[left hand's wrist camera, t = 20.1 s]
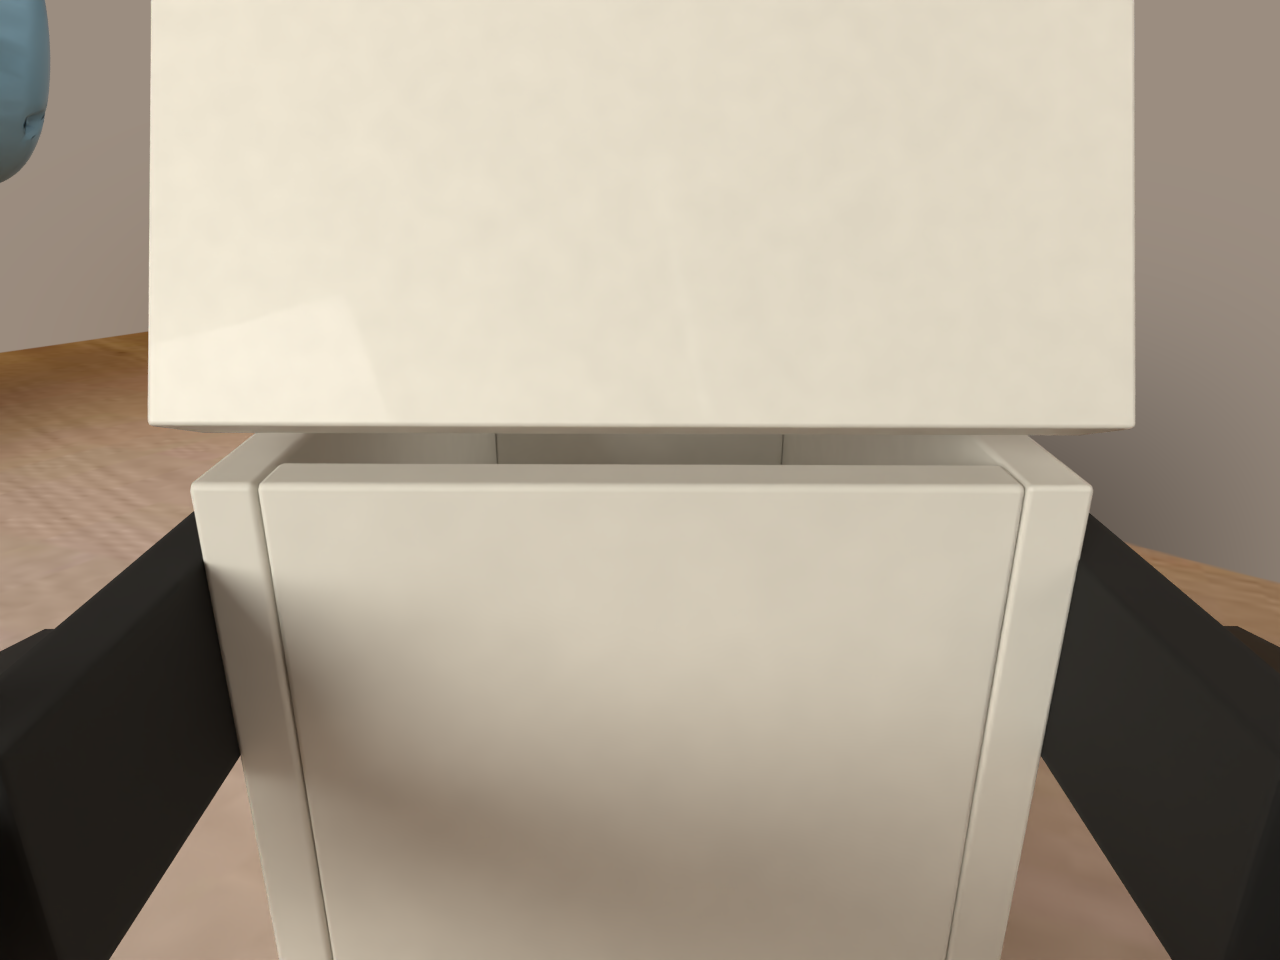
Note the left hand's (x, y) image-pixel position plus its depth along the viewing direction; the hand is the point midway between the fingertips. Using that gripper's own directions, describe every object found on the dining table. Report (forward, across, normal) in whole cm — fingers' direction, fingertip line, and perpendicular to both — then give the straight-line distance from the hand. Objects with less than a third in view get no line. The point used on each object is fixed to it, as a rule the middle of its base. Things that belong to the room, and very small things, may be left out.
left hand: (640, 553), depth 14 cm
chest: (+5, 0, -7) cm, 9 cm away
